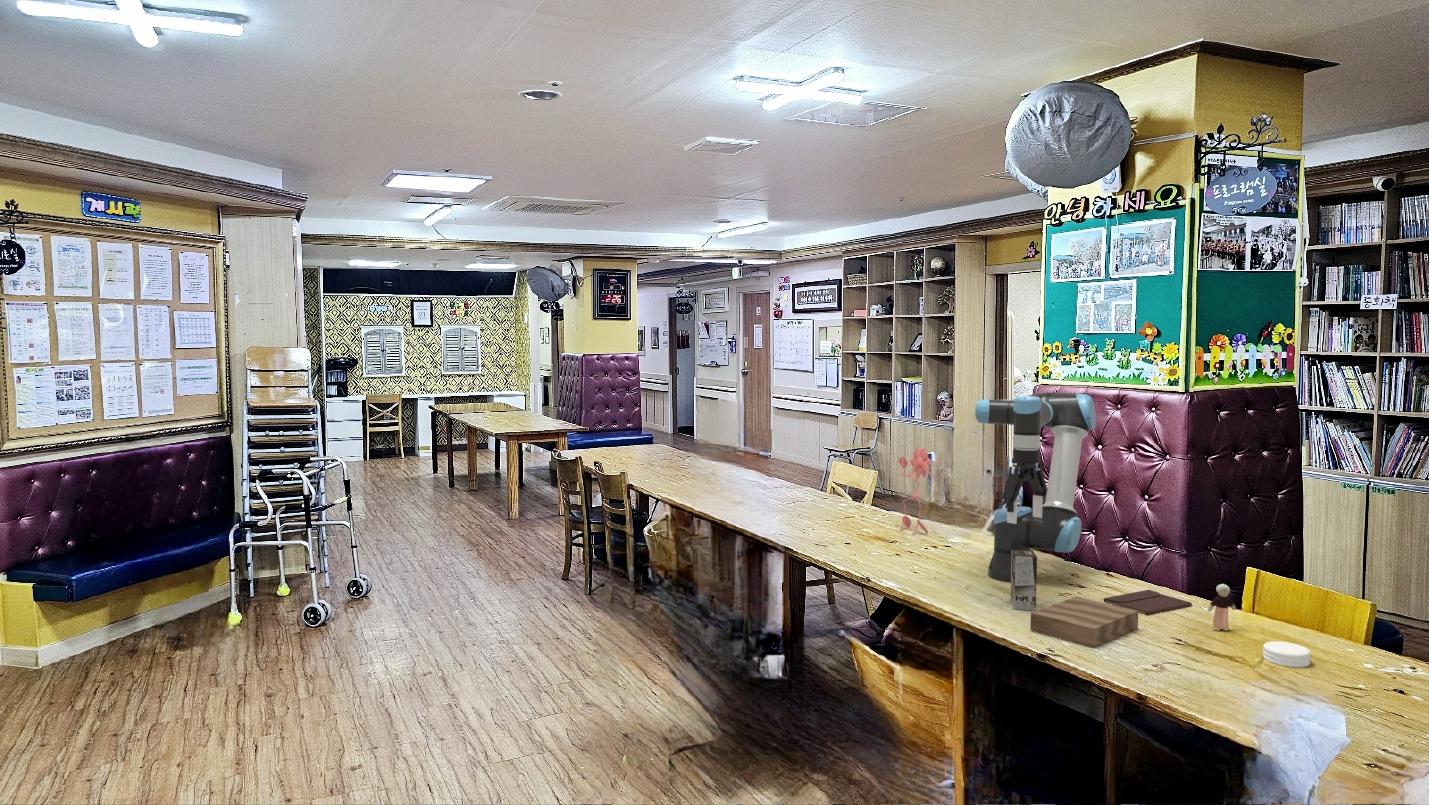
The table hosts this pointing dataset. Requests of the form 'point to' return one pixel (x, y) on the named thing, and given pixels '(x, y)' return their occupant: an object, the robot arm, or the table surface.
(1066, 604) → the walnut step
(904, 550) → the table surface
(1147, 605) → the notebook
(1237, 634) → the table surface
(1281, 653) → the white round tin
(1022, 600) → the coffee box
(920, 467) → the figurine
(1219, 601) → the grandmother figurine
